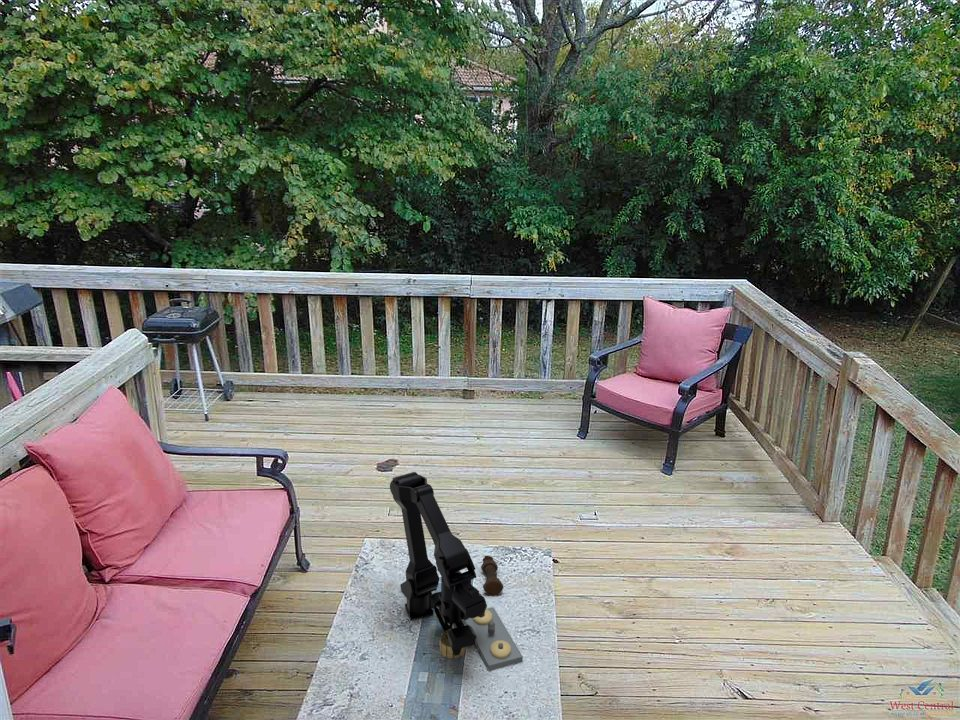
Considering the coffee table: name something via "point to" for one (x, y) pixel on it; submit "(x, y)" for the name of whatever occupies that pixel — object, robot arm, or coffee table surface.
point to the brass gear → (448, 646)
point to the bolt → (491, 577)
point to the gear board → (494, 640)
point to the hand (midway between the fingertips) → (452, 645)
